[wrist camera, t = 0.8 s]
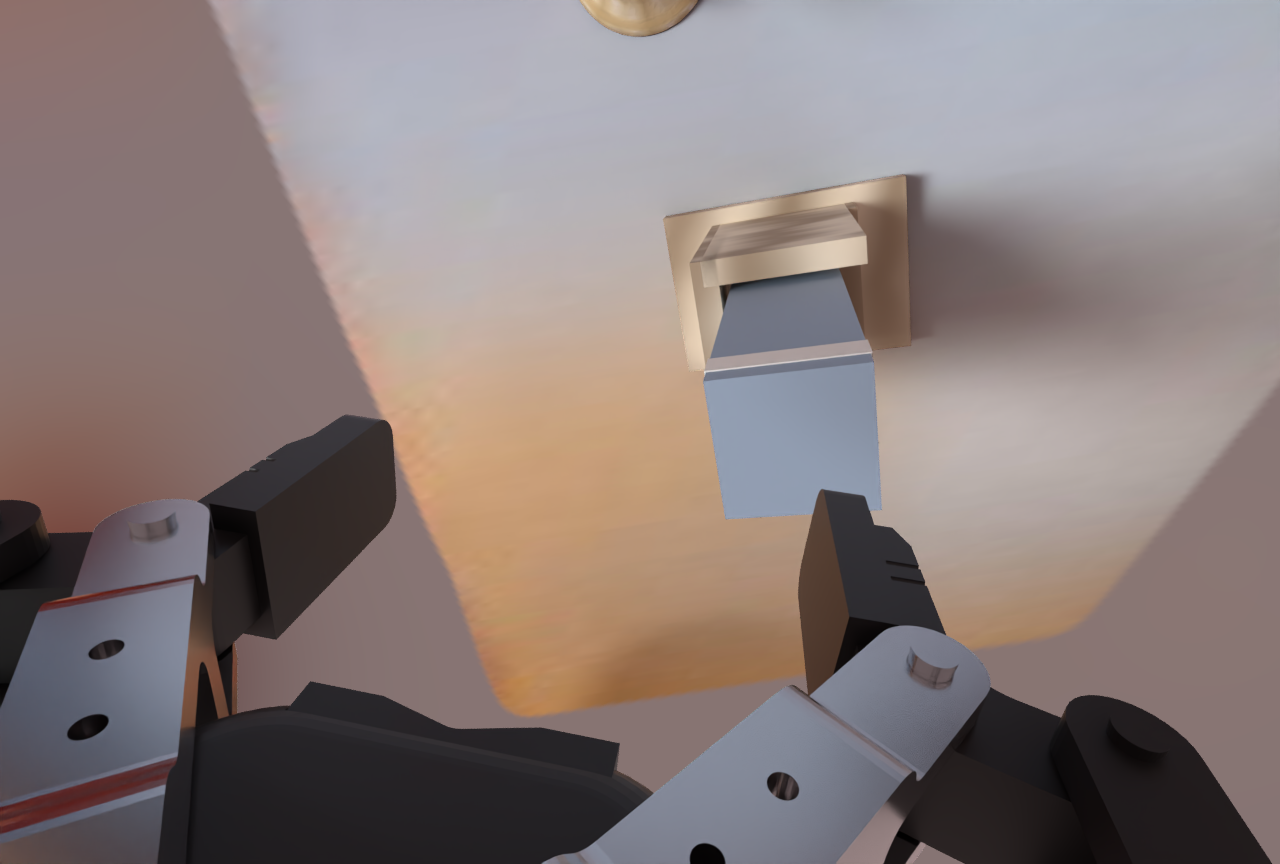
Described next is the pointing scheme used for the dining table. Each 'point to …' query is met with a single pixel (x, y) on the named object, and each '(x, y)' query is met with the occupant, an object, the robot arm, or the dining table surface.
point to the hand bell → (638, 14)
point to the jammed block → (792, 397)
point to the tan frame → (796, 256)
